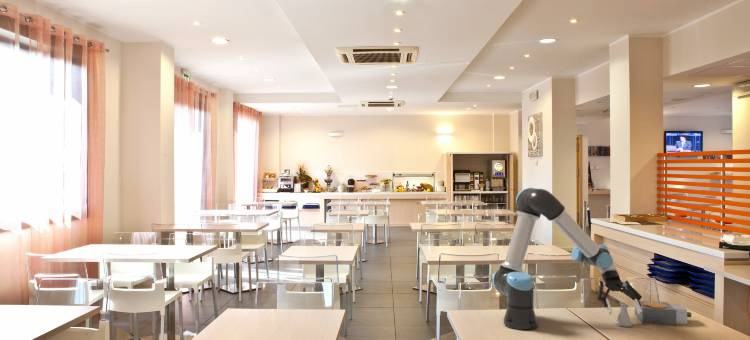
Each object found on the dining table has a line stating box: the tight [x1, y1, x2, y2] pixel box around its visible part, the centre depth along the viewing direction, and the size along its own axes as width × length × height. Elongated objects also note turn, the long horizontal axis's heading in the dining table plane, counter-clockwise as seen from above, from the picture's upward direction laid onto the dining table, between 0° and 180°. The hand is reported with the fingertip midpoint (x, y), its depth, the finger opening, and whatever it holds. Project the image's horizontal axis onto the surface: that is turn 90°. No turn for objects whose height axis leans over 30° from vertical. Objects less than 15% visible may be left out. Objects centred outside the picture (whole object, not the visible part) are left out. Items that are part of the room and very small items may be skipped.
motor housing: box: [634, 300, 692, 326], centre depth 231 cm, size 22×14×7 cm, turn 75°
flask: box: [615, 302, 633, 328], centre depth 225 cm, size 7×7×10 cm
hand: (625, 313), depth 224 cm, fingers open, 13 cm apart
